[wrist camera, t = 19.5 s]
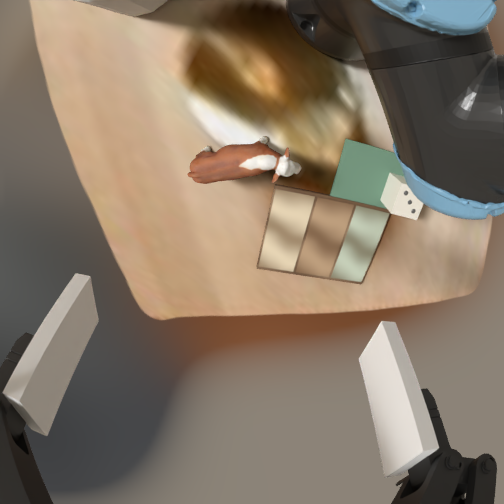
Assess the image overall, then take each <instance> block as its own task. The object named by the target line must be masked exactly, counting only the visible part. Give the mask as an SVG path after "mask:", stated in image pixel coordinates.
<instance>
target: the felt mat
mask: <svg viewBox="0 0 504 504" xmlns="http://www.w3.org/2000/svg"><path fill="white" fill-rule="evenodd" d="M390 172H391V173H394V174H397V175H400V176H404V174H403V171H402V168H401V165H400V163H399V161H398V159H397V158H396V155H395V153H393V152H390V151H387V150H383V149H380V148H377V147H374V146H370V145H367V144H363V143H360V142H356V141H353V140H349V139H345V143H344V147H343V151H342V154H341V158H340V162H339V165H338V169H337V172H336V176H335V179H334V183H333V186H332V190H331V193H330V196H333V197H338V198H342V199H347V200H351V201H356V202H360V203H364V204H369V205H373V206H377V207H381V208H385V209H387V208H386V207H385V206H384V204H383V203H382V202H381V201H380V199H381V196H382V194H383V191H384V188H385V185H386V182H387V179H388V176H389V173H390Z"/></svg>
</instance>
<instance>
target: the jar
mask: <svg viewBox="0 0 504 504" xmlns="http://www.w3.org/2000/svg"><path fill="white" fill-rule="evenodd" d="M74 1H78V2H82V3H86V4H90V5H93V6H97V7H100V8H104V9H107V10H110V11H113V12H117V13H120V14H125V15H129V16H133V17H136V16H139V15H143V14H147V13H151V12H154V11H155V10H156V9H157V8H159V7H160V6H161V5H163V4H164V3H165V2H167V1H168V0H74Z"/></svg>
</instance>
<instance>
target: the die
mask: <svg viewBox="0 0 504 504" xmlns="http://www.w3.org/2000/svg"><path fill="white" fill-rule="evenodd" d="M380 201H381V202H382V203H383V204H384V206H385V207H386V208H387V209H388V210H389V212H390V213H391V214H395V215H399V216H403V217H407V218H411V219H414V220H417V219H418V216H419V214H420V211H421V209H422V206H423V204H424V203H422V202H421V201H420V200H419V199H417V198H416V196H415V195H414V194H413V193H412V191H411V190H410V188H409V187H408V185H407V183H406V180H405V177H404V176H400V175H397V174H394V173H391V172H390V173H389V176H388V179H387V182H386V185H385V188H384V191H383V194H382V196H381V199H380Z"/></svg>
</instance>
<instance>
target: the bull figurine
mask: <svg viewBox="0 0 504 504" xmlns="http://www.w3.org/2000/svg"><path fill="white" fill-rule="evenodd" d="M268 141H269V138H268V137H267V136H263V137H262V138H260V139H259V141H258V142H256V143H254V144H241V145H227V146H225V147H223V148H221V149H219V150H218V151H217V152H211V150H212V149H211V147H210V146H206V147H205V148H204V149H202V150H201V152H200V153H199V154H198V155H196V158H195V159H194V160H193V161H192V162H191V164H190V171H191V172H189V173H188V176H189V177H192V178H193V180H194V181H195V182H197V183H203V184H207V183H212V182H217V181H225V180H235V179H239V178H243V177H248V176H255V175H258V174H261V173H263V172H266V171H268V170H276V173H275V174H274V176H273V180H272V183H274V182H276V181H277V179H278V177H279V176H280V175H283V176H285V177H288V176H291V175H292V174H293V173H295V174H298V173H299V172H300V170H301V166H300V164H299V163H297V162H293V161H292V160H290V159H289V156H290V154H289V148H288V147H287V148H286V151H285V154H284V156H283V155H281V154H280V153H278V152H276V151H274V150H272V149H270V148H269V146H268V145H266V143H267V142H268Z"/></svg>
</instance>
